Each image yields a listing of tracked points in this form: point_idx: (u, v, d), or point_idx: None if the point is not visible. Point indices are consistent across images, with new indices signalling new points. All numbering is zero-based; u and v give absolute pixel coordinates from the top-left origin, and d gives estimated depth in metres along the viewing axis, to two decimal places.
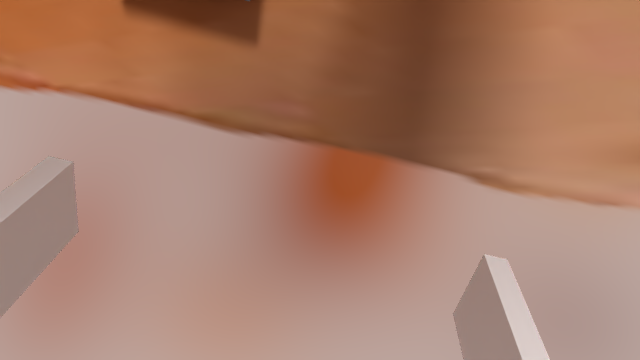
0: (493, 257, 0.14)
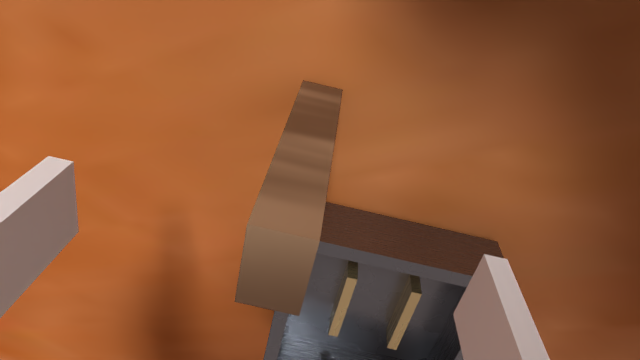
0: (493, 257, 0.14)
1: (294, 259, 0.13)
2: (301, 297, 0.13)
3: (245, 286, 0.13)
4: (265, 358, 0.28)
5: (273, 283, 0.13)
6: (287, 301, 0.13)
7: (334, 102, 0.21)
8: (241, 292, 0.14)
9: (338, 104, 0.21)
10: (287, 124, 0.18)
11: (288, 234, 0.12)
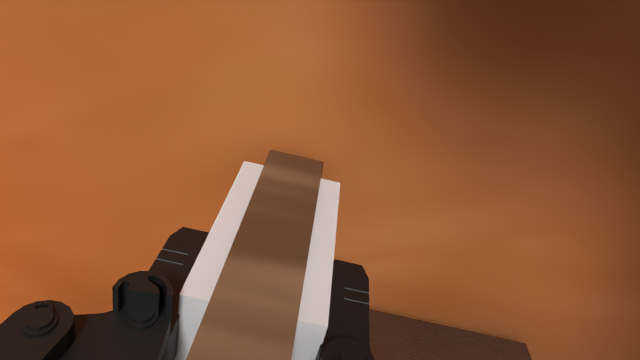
0: (327, 180, 0.16)
1: None
2: None
3: None
4: None
5: None
6: None
7: (310, 185, 0.15)
8: None
9: (316, 190, 0.15)
10: (236, 239, 0.12)
11: None
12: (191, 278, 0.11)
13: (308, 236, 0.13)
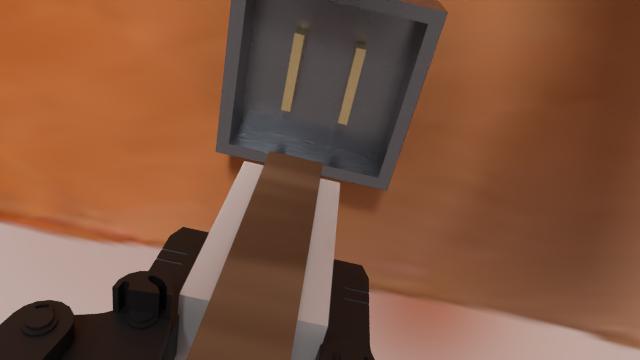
0: (327, 181, 0.16)
1: None
2: None
3: None
4: (219, 128, 0.29)
5: None
6: None
7: (309, 187, 0.15)
8: None
9: (315, 191, 0.15)
10: (235, 241, 0.12)
11: None
12: (191, 278, 0.11)
13: (307, 238, 0.13)
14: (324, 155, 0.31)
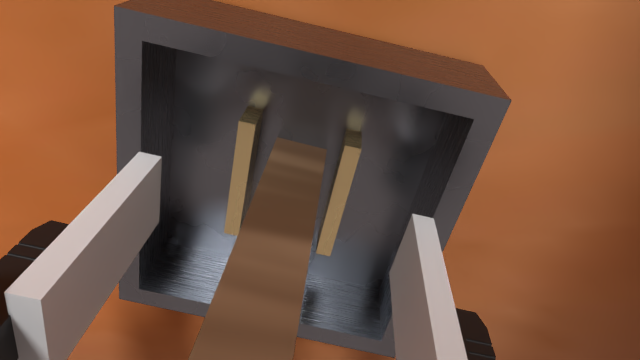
0: (420, 216, 0.15)
1: None
2: None
3: None
4: None
5: None
6: None
7: (314, 170, 0.16)
8: None
9: (320, 174, 0.16)
10: (247, 215, 0.13)
11: None
12: (26, 275, 0.10)
13: (313, 214, 0.14)
14: None
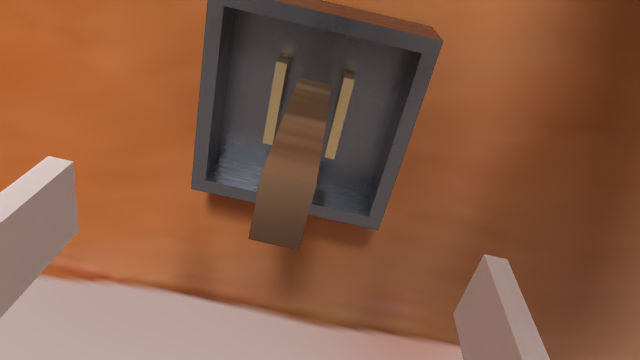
0: (493, 257, 0.14)
1: (297, 201, 0.17)
2: (301, 234, 0.17)
3: (257, 225, 0.17)
4: (195, 163, 0.26)
5: (279, 222, 0.17)
6: (290, 237, 0.17)
7: (325, 94, 0.25)
8: (254, 231, 0.17)
9: (328, 96, 0.25)
10: (287, 108, 0.22)
11: (292, 181, 0.16)
12: None
13: (326, 112, 0.23)
14: None
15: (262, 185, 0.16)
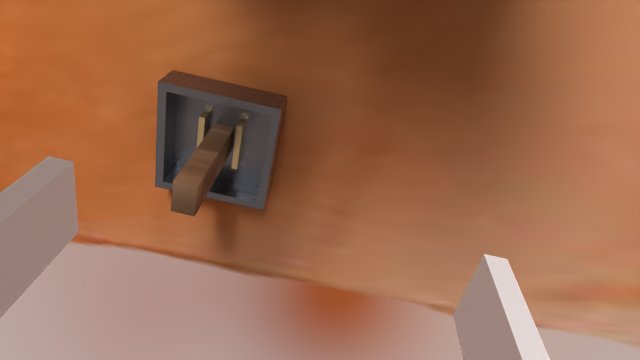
0: (493, 257, 0.14)
1: (190, 193, 0.37)
2: (194, 208, 0.38)
3: (174, 204, 0.38)
4: (156, 172, 0.47)
5: (184, 203, 0.37)
6: (189, 210, 0.38)
7: (226, 134, 0.45)
8: (173, 207, 0.38)
9: (228, 135, 0.45)
10: (199, 145, 0.42)
11: (187, 184, 0.36)
12: None
13: (221, 146, 0.43)
14: (225, 187, 0.49)
15: (174, 186, 0.37)
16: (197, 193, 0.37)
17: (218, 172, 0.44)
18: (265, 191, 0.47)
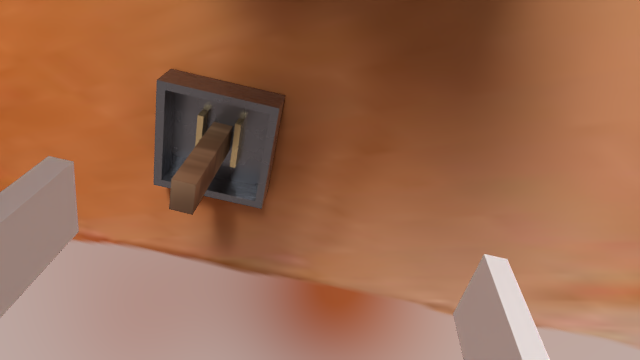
0: (493, 257, 0.14)
1: (188, 192, 0.37)
2: (192, 207, 0.38)
3: (172, 202, 0.38)
4: (155, 170, 0.47)
5: (182, 201, 0.38)
6: (187, 208, 0.38)
7: (225, 132, 0.45)
8: (171, 205, 0.38)
9: (226, 134, 0.45)
10: None
11: (185, 182, 0.37)
12: None
13: (219, 144, 0.43)
14: (223, 186, 0.49)
15: (172, 184, 0.37)
16: (195, 191, 0.37)
17: (216, 170, 0.44)
18: (263, 190, 0.47)
